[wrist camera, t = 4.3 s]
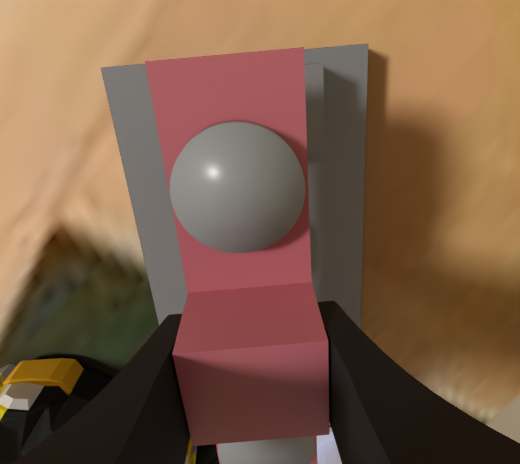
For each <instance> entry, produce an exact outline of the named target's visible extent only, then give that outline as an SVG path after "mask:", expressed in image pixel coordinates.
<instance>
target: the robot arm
mask: <svg viewBox="0 0 520 464" xmlns="http://www.w3.org/2000/svg"><path fill="white" fill-rule="evenodd" d="M317 303H318V307H319V310H320V314H321V317H322V321H323V324H324V328H325V331H326V335H327V338H328V363H329V422H330V425H331V427H329V435H320V436H317V464H520V443H518V442H516V441H514V440H512V439H510V438H509V437H507V436H505V435H503V434H501V433H499V432H497V431H495V430H494V429H492V428H490V427H488V426H487V425H485V424H483V423H481V422H480V421H478V420H476V419H474V418H473V417H471V416H469V415H468V414H466V413H465V412H463V411H462V410H460V409H458V408H457V407H455V406H454V405H452V404H450V403H449V402H447V401H446V400H444V399H443V398H441V397H440V396H438V395H437V394H435V393H434V392H432V391H431V390H430V389H428V388H427V387H426V386H424V385H423V384H422V383H420V382H419V381H418V380H416V379H415V378H414V377H412V376H411V375H410V374H409V373H407V372H406V371H405V370H404V369H402V368H401V367H400V366H399V365H398V364H397V363H395V362H394V361H393V360H392V359H391V358H390V357H389V356H387V355H386V354H385V353H384V352H383V351H382V350H381V349H380V348H379V347H378V346H377V345H376V344H375V343H374V342H373V341H372V340H371V339H370V338H369V337H368V336H367V335H366V334H365V333H364V332H363V331H362V330H361V329H360V328H359V327H358V326H357V325H356V324H355V323H354V322H353V321H352V319H351V318H350V317H349V316H348V315H347V314H346V313H345V312H344V310H343V309H342V308H341V307H340V306H339V304H338V303H336V302H335V301H323V302H317ZM181 318H182V314H171V315H168V316H167V317H166V318H165V319H164V320H163V322H162V323H161V324H160V325H159V326H158V328H157V329H156V330H155V331H154V333H153V334H152V335H151V336H150V337H149V339H148V340H147V341H146V342H145V344H144V345H143V346H142V347H141V348H140V349H139V351H138V352H137V353H136V354H135V355H134V356H133V357H132V359H131V360H130V361H129V362H128V363H127V364H126V365H125V367H124V368H123V369H122V370H121V371H120V372H119V373H118V374H117V375H116V376H115V377H114V378H113V379H112V380H111V381H110V382H109V383H108V385H107V386H106V387H105V388H104V389H103V390H102V391H101V392H100V393H99V394H98V395H97V396H95V397H94V398H93V399H92V400H91V401H90V402H89V403H88V404H87V405H86V406H85V407H83V408H82V409H81V410H80V411H79V412H78V413H77V414H75V415H74V416H73V417H72V418H71V419H70V420H69V421H67V422H66V423H65V424H64V425H62V426H61V427H60V428H59V429H57V430H56V431H55V432H53V433H52V434H51V435H50V436H48V437H47V438H46V439H45V440H43V441H42V442H41V443H39V444H38V445H37V446H36V447H34V448H33V449H32V450H30V451H29V452H28V453H26V454H25V455H24V456H22V457H21V458H19V459H18V460H17V461H15V462H14V463H12V464H185V460H186V455H187V451H188V446H189V441H190V432H189V427H188V423H187V418H186V414H185V409H184V405H183V400H182V396H181V391H180V387H179V382H178V378H177V373H176V369H175V364H174V360H173V355H172V353H173V349H174V345H175V341H176V337H177V333H178V329H179V325H180V322H181Z"/></svg>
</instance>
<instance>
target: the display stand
mask: <svg viewBox="0 0 520 464" xmlns="http://www.w3.org/2000/svg"><path fill="white" fill-rule="evenodd" d="M304 69H305V99H306V129H307V160H308V190H309V221H310V251H311V282H312V286H313V289H314V293H315V296H316V300H317V302H323V301H335V302H336V303H338V304H339V306H340V307H341V308H342V309H343V310H344V312H345V313H346V314H347V315H348V316H349V317H350V318H351V319H352V321H353V322H354V323H355V324H356V325H357V326H358V327H359V328H360V329H361V301H362V263H363V225H364V187H365V149H366V111H367V73H368V44H359V45H348V46H337V47H325V48H314V49H304ZM101 71H102V76H103V80H104V84H105V89H106V93H107V98H108V102H109V106H110V111H111V115H112V120H113V124H114V128H115V133H116V137H117V142H118V146H119V150H120V155H121V159H122V164H123V168H124V172H125V177H126V181H127V186H128V190H129V194H130V199H131V203H132V208H133V212H134V216H135V221H136V225H137V230H138V234H139V238H140V243H141V247H142V252H143V256H144V260H145V265H146V269H147V274H148V278H149V282H150V287H151V291H152V296H153V300H154V304H155V309H156V313H157V318H158V322H159V325H160V324H161V323H162V322H163V320H164V319H165V318H166V317H167V316H168V315H171V314H183V310H184V306H185V302H186V298H187V294H188V291H187V286H186V280H185V275H184V270H183V264H182V259H181V253H180V248H179V243H178V237H177V232H176V227H175V221H174V216H173V210H172V205H171V200H170V194H169V189H168V183H167V178H166V173H165V167H164V162H163V156H162V151H161V146H160V140H159V135H158V130H157V124H156V119H155V113H154V108H153V103H152V97H151V92H150V86H149V81H148V76H147V70H146V65H145V64H137V65H126V66H115V67H103V68H101Z"/></svg>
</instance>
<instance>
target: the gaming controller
mask: <svg viewBox="0 0 520 464" xmlns="http://www.w3.org/2000/svg"><path fill="white" fill-rule="evenodd" d="M111 380H112V379H110V378H108V377H106V376H103V375H101V374H99V373H97V372H94V371H92V370H90V369H87V368H83V367H82V366H81V365H80V364H79V363H78V361H77V360H76V359H67V358H57V359H41V360H23V361H20V362H19V363H17V364H9V365H7V366H5V367H3V368H1V369H0V464H12V463H14V462H15V461H17V460H18V459H19V458H21V457H22V456H24V455H25V454H26V453H28V452H29V451H30V450H32V449H33V448H34V447H36V446H37V445H38V444H39V443H41V442H42V441H43V440H45V439H46V438H47V437H48V436H50V435H51V434H52V433H53V432H55V431H56V430H57V429H59V428H60V427H61V426H62V425H64V424H65V423H66V422H67V421H69V420H70V419H71V418H72V417H73V416H74V415H75V414H77V413H78V412H79V411H80V410H81V409H82V408H83V407H85V406H86V405H87V404H88V403H89V402H90V401H91V400H92V399H93V398H94V397H95V396H97V395H98V394H99V393H100V392H101V391H102V390H103V389H104V388H105V387H106V386H107V385H108V383H109V382H110V381H111ZM196 452H197V446H192V441H191V437H190V441H189V446H188V451H187V455H186V460H185V464H195V460H196Z"/></svg>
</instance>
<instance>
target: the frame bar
mask: <svg viewBox="0 0 520 464" xmlns="http://www.w3.org/2000/svg"><path fill="white" fill-rule="evenodd" d="M145 65H146V70H147V76H148V81H149V86H150V92H151V97H152V103H153V108H154V113H155V119H156V124H157V130H158V135H159V140H160V146H161V151H162V156H163V162H164V167H165V173H166V178H167V183H168V189H169V194H170V200H171V205H172V210H173V216H174V221H175V227H176V232H177V237H178V243H179V248H180V253H181V259H182V264H183V270H184V275H185V280H186V286H187V291H188V294H187V298H186V302H185V306H184V310H183V314H182V318H181V322H180V325H179V329H178V333H177V337H176V341H175V345H174V349H173V353H172V355H173V360H174V364H175V369H176V373H177V378H178V382H179V387H180V391H181V396H182V400H183V405H184V409H185V414H186V418H187V423H188V427H189V432H190V437H191V441H192V446H199V445H211V444H216V447H217V453H218V458H219V463H220V464H317V436H320V435H329V363H328V338H327V335H326V331H325V328H324V324H323V321H322V317H321V314H320V310H319V307H318V303H317V300H316V296H315V293H314V289H313V286H312V282H311V251H310V221H309V190H308V160H307V129H306V99H305V69H304V47H302V48H291V49H280V50H269V51H257V52H246V53H235V54H224V55H213V56H202V57H191V58H180V59H169V60H158V61H146V62H145Z"/></svg>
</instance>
